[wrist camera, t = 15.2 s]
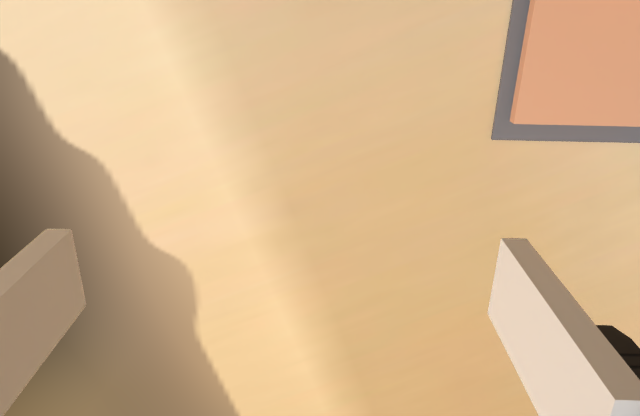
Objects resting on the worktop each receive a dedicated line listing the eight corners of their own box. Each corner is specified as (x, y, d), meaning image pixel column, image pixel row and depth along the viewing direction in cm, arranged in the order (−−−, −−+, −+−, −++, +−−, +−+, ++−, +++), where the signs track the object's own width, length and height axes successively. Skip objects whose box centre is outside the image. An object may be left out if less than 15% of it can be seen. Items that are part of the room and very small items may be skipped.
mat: (527, -90, 37) (528, -91, 36) (706, -86, 37) (709, -87, 36) (491, 138, 44) (492, 139, 43) (642, 141, 44) (644, 142, 43)
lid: (550, -137, 35) (584, -155, 31) (708, -133, 35) (766, -152, 31) (507, 119, 43) (529, 135, 38) (638, 122, 43) (677, 138, 38)
